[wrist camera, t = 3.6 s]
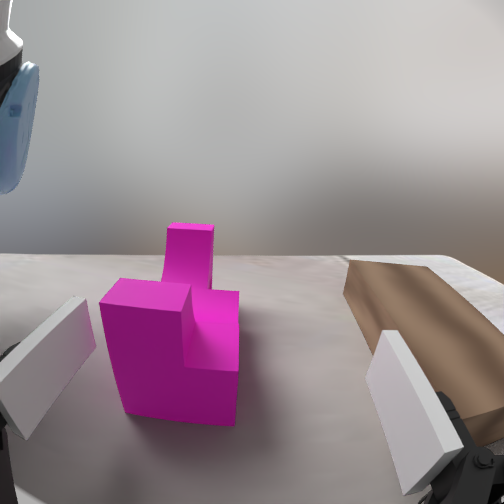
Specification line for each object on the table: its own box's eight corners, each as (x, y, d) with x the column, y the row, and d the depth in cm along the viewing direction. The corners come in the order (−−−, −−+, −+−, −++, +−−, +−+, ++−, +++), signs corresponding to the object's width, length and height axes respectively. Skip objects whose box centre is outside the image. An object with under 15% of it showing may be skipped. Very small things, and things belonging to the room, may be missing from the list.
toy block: (234, 428, 14) (242, 316, 12) (125, 414, 14) (99, 302, 11) (237, 302, 28) (242, 226, 26) (173, 298, 28) (172, 222, 26)
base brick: (418, 466, 10) (455, 421, 9) (343, 293, 31) (350, 259, 30) (521, 429, 10) (551, 386, 9) (418, 297, 31) (427, 266, 30)
